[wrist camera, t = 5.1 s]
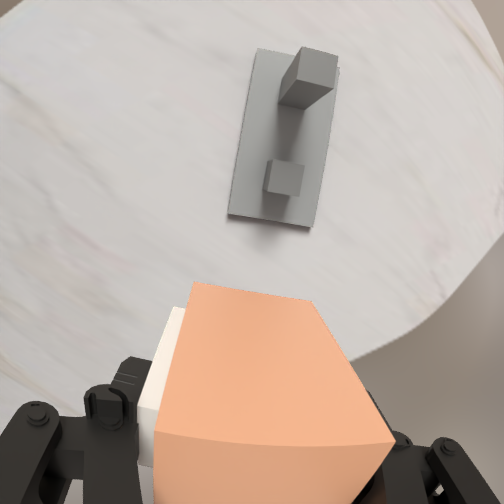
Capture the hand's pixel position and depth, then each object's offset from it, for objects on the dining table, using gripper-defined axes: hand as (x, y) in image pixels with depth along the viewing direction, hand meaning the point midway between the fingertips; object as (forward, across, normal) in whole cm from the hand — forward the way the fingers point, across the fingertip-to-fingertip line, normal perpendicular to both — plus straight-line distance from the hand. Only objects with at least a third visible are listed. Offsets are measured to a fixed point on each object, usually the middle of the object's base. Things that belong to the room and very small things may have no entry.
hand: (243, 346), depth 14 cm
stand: (+17, +2, +12) cm, 21 cm away
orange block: (0, 0, 0) cm, 0 cm away
